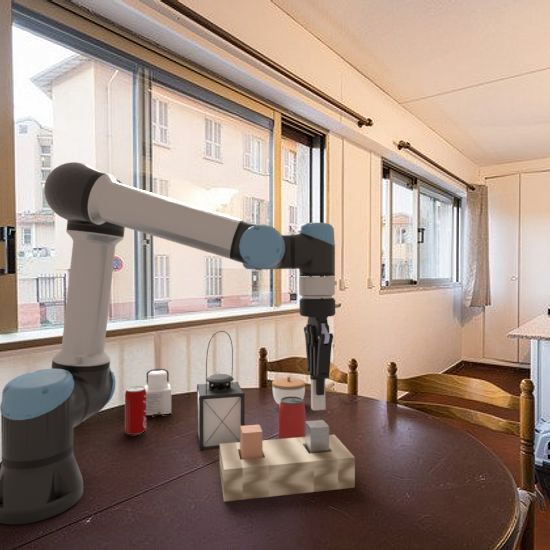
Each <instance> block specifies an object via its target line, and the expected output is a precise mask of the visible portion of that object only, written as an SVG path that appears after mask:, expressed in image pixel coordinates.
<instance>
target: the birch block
mask: <svg viewBox="0 0 550 550" xmlns="http://www.w3.org/2000/svg"><path fill="white" fill-rule="evenodd" d="M355 465H356V457H355V456H354V455H353V454H352V452H350V450H349V449H348V448H347V447H346V445H344V444H343V443H342V441H341V440H340V439H339V438H338V437H337V436H336V434H329V452H321V453H310V454H309V453H308V452H307V450H306V448H305V437H297V438H285V439H279V438H276V439H274V438H273V439H264V440H263V458H254V459H241V456H240V442H235V443H223V444H220V449H219V477H220V484H221V490H222V497H223V502H233V501H241V500H251V499H252V500H253V499H260V498H271V497H278V496H288V495H289V496H290V495H296V494H307V493H316V492H324V491H326V492H327V491H333V490H343V489H344V490H345V489H354V488H355V487H356V485H355V483H356V481H355V480H356V475H355V474H356V469H355V468H356V466H355Z"/></svg>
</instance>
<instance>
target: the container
mask: <svg viewBox="0 0 550 550" xmlns="http://www.w3.org/2000/svg"><path fill="white" fill-rule="evenodd" d="M169 374H170V373H169V371H168V369H165V368H154V369H149V370H148V371H147V372H146V385H144V387H145V389H146V415H153V414H169V413H171V414H172V389H171V388H172V387H171V383H169V382H170V379H169V378H170V377H169Z"/></svg>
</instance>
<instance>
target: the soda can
mask: <svg viewBox="0 0 550 550" xmlns="http://www.w3.org/2000/svg"><path fill="white" fill-rule="evenodd" d="M146 430H147V417H146V389H145V385H144V386H143V385H134V386H130V387H129V386H128V387H127V388H126V389H125V394H124V432H125V433H126V434H127V433H128V434H139V433H142V432H144V431H145V432H146ZM145 432H144V433H145ZM128 434H127V435H128ZM142 434H143V433H142ZM139 435H140V434H139Z"/></svg>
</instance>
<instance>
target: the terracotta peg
mask: <svg viewBox="0 0 550 550" xmlns="http://www.w3.org/2000/svg"><path fill="white" fill-rule="evenodd" d="M263 434H264V431H263V430H262V427H261V424H250V425H244V426H240V456H241V459H254V458H263V436H264V435H263Z"/></svg>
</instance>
